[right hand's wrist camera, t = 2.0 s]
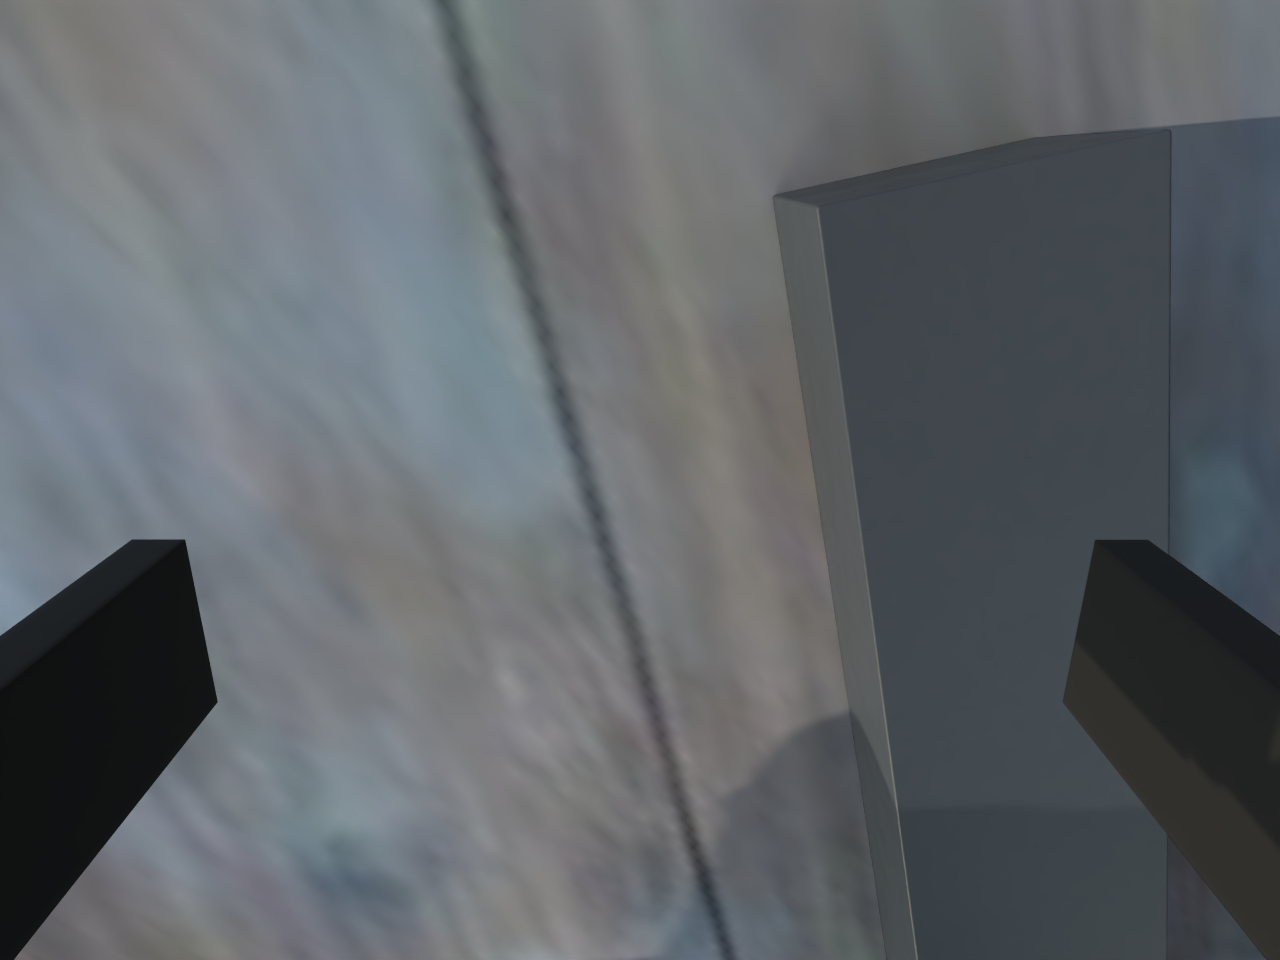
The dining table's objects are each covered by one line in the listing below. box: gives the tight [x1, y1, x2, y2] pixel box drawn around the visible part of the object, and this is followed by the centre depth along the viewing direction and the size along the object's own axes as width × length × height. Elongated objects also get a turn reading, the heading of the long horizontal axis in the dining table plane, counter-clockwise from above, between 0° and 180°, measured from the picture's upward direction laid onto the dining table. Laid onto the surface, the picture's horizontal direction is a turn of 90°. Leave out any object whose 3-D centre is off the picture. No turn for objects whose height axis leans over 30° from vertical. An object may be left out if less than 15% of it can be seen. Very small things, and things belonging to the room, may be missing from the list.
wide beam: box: [773, 129, 1171, 960], centre depth 33 cm, size 55×8×7 cm, turn 12°
